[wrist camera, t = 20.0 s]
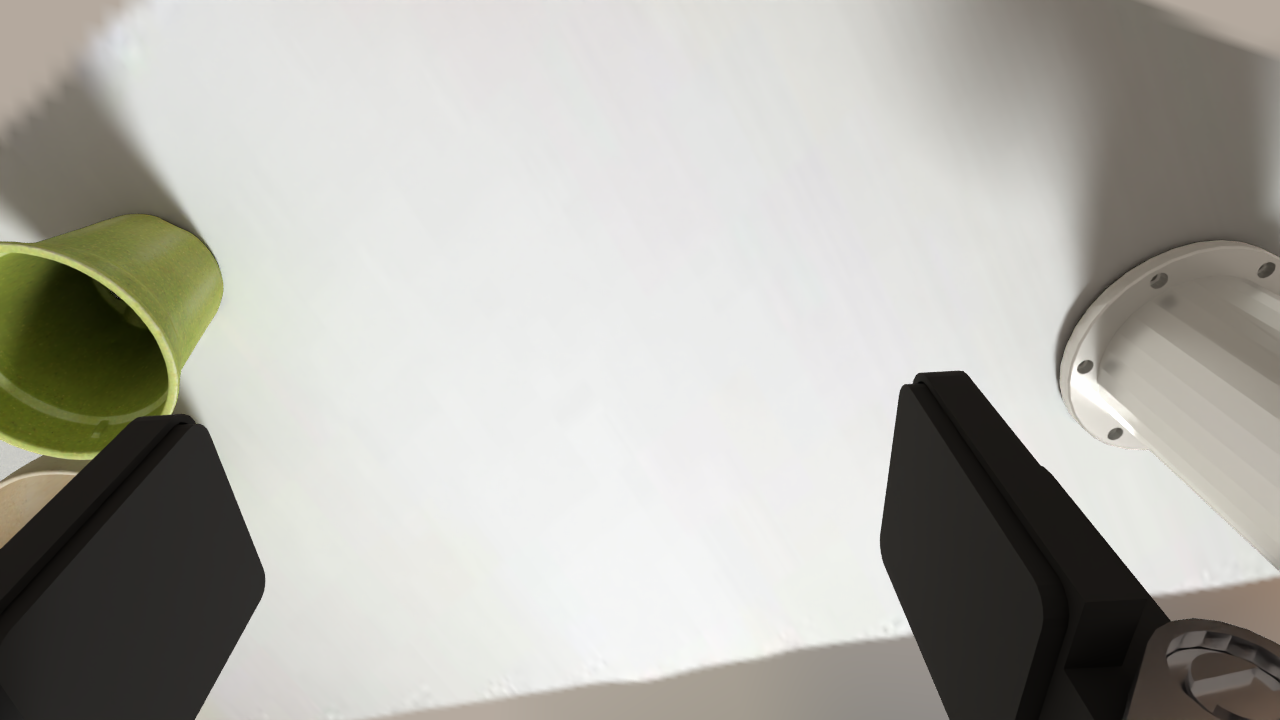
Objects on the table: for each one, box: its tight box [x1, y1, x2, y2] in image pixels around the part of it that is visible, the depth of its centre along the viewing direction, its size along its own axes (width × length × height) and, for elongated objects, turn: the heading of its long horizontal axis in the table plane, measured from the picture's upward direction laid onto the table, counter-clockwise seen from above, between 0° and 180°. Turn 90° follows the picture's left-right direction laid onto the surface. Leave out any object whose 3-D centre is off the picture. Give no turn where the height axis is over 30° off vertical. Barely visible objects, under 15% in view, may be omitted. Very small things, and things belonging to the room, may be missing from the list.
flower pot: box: [0, 455, 92, 549], centre depth 39 cm, size 10×10×7 cm
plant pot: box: [0, 214, 223, 460], centre depth 32 cm, size 9×9×9 cm
